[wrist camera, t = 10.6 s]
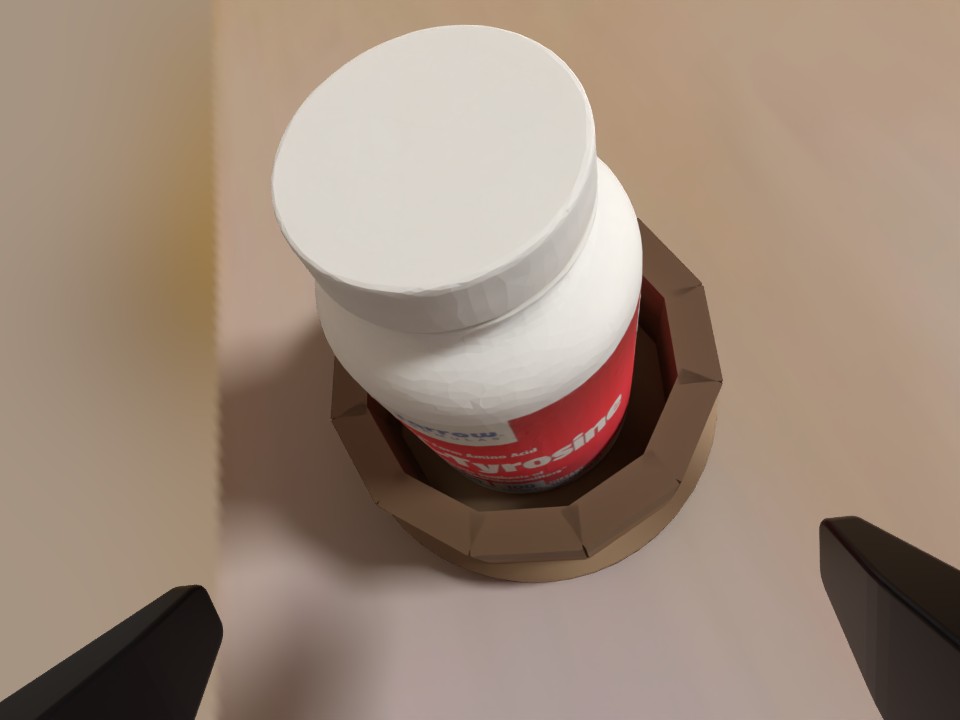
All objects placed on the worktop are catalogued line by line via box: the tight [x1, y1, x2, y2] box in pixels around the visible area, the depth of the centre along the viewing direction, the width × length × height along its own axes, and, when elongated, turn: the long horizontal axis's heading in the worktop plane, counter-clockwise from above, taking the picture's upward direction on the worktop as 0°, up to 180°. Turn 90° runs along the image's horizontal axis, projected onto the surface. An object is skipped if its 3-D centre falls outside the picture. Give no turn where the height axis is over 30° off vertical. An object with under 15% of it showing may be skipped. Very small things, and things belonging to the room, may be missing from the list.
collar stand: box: [331, 218, 723, 582], centre depth 17 cm, size 11×11×4 cm
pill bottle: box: [271, 25, 643, 494], centre depth 13 cm, size 6×6×11 cm
